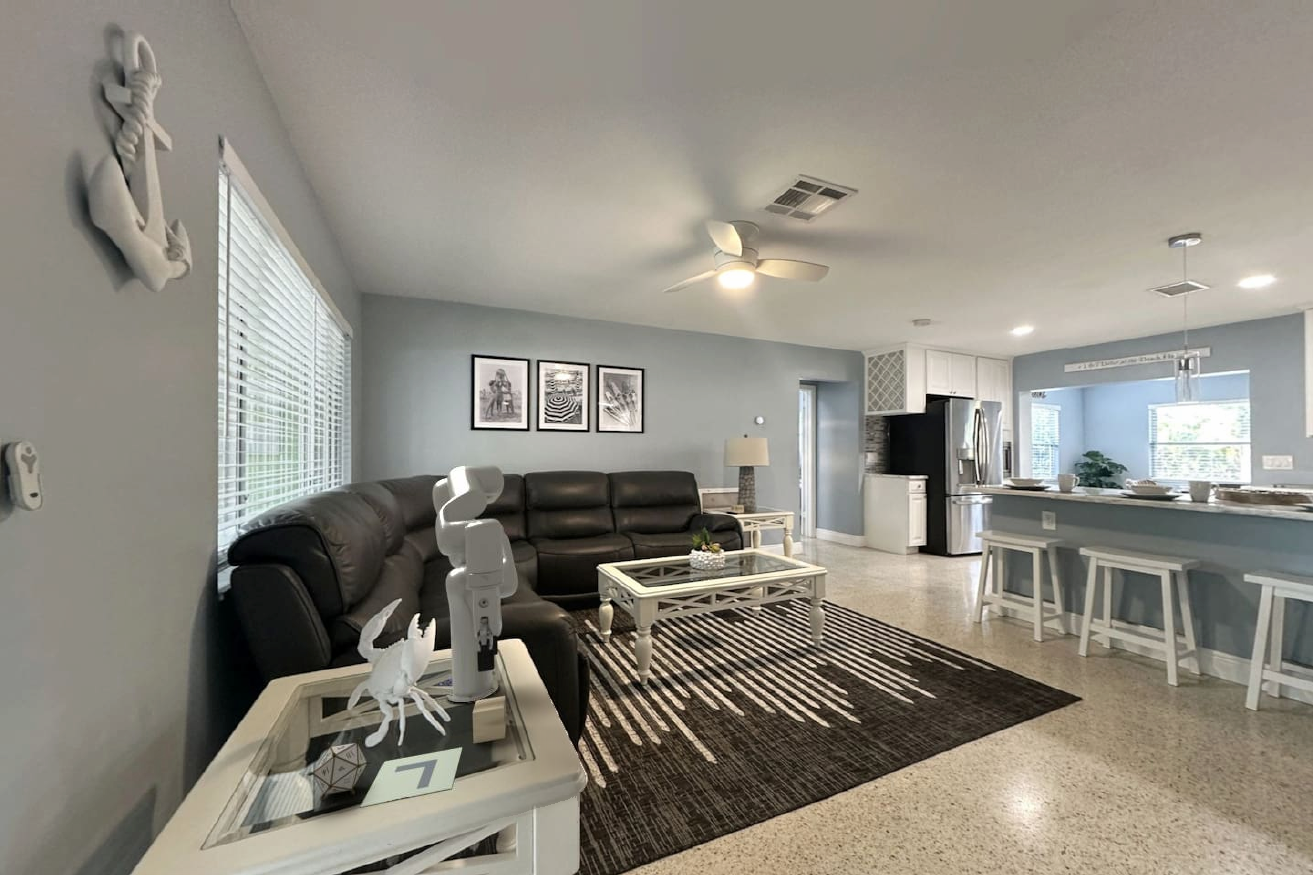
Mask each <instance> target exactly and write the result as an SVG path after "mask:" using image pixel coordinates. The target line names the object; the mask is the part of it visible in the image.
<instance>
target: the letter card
mask: <svg viewBox="0 0 1313 875" xmlns="http://www.w3.org/2000/svg"><path fill="white" fill-rule="evenodd" d="M462 752H463V747H456V748H451V749H445V750H440V751H436V752H435V751H433V752H430V753H423V754H419V755H414V756H413V755H412V756H408V757H403V758H397V759H392V760H386V761H384V762H383V764H382V765H381V767H380V769H379V771H378V772H377V775H376V777H375V779H374V781H373V782H372V784H371V786H370V788H369V790H368V792H367V794H366V795H365V797H364V798H363V800H362V803H361V804H360V806H359V807H360V808H364V807H368V806H374V805H378V804H384V803H388V802H387V801H389V802H393V801H392V800H393V799H399V800H402V799H401V797H405V796H406V797H409V798H414V797H418V796H422V795H423V796H424V795H428V794H432V793H434V794H435V793H438V792H442V791H447V790H452V789H453V785H454V781H455V777H456V773H457V770H458V765H459V762H460V758H461V754H462ZM413 796H414V797H413Z"/></svg>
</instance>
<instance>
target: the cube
mask: <svg viewBox="0 0 1313 875" xmlns="http://www.w3.org/2000/svg"><path fill="white" fill-rule="evenodd" d="M506 708H507V706H506V695H503V696H498V697H497V696H496V697H490V698H489V697H488V698H484V699H481V700H477V701H475V704H474V707H473V710H472V731H473V739H472V740H473V744H478V743H485V742H490V741H495V740H496V741H497V740H500V739H505V738H506V730H507V709H506Z"/></svg>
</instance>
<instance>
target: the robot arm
mask: <svg viewBox="0 0 1313 875" xmlns="http://www.w3.org/2000/svg"><path fill="white" fill-rule="evenodd" d="M504 485H505V478H504V475H503V472H502V471H501V469H500V468H499V467H498V466H497V465H493V464H483V465H464V466H463V465H462V466H458V467H455V468H454V469H452V470H450V472H449V473H448V474H447V477H446V478H443V479H440V480H439V481H437V482H435V484H434V485H433V488H432V501H433V506H434V510H435V513H436V518H435V536H436V544H437V548H438V550H439V552H440V553H441V554H442V555H443V556H447V557H448V560H449V563H450V565H451V566H452V567H453V569H451V571H449V572H448V573H447V576H446V578H445V590H446V595H447V596H446V597H447V603H448V607H449V615H450V616H449V618H450V619H449V620H450V637H451V638H450V641H451V642H450V644H451V646H450V647H451V649H450V650H451V679H452V681H451V682H452V687H453V694H450V695H447V697H448V698H449V699H450V700H452V701H456V702H466V701H468V703H470V702H469V701H474V702H476V701H475V700H479V699H481V698H483V697H485V696H486V695H488V694H489V693H492V692H493V691H494V690H495V688H494V687H492V684H493V679H494V678H493V670H494V669H495V668H496V667H495V666H496V665H495V663H496V662H495V656H496V655H497V656H498V654H499V648H498V647H499V646H498V637H499V636H500V635H501V634H502V633H501V632H502V628H503V622H502V604H501V602H502V601H501V599H505V598H509V597H511V596H513V595H514V594H515V593H516V592H517V589H518V585H519V580H518V572H517V568H516V564H515V560H514V559H515V558H514V555H513V551H512V548H511V547H512V546H511V543H510V540H509V537H508V535H507V534H506V533H505V530H504V526H503V525H502V524H501V522H500V521H499V520H498V519H496V518H482V519H476V518H477V517H479V516H480V515H481V514H483V512H484V511H485V509H486V508H487V506H488V505H490V504H494V503H495V502H496V500H498V498H499V497H500V496H501V494H502V493H503V490H504V487H505V486H504ZM491 689H492V690H491ZM451 695H453V696H451ZM481 700H482V699H481Z"/></svg>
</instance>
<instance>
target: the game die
mask: <svg viewBox="0 0 1313 875" xmlns="http://www.w3.org/2000/svg"><path fill="white" fill-rule="evenodd" d="M360 742H361V737H358V738H357V739H356V741H355V742H351V743H343V744H337V745H332V744H331V742H327V744H326V746H327V747H328V749H327V750H326V752H325V753H324V755H323V757H322V758H321V759H320V761H319V762H318V765H317V766H316V767H315V769H314V771H311V772H310V771H309V772H308V773H307V774H306V776H308V777H312V775H313V777H314V779H315V782H316V783H317V785H318V787H319V789H320V791H321V793H322V794H321V796H320V797H319V798H320V800H319V801H322V800H323V799H324V797H325V796H326V795H331V794H332V795H333V794H337V793H344V792H348V791H350V793H351V794H353V795H355V789H354V788H355V786H356V784H357V782H358V780H359V778H361V775H362V774H363V772H364V769H365V768H366V766H367V765H371V764H372V763H373V761H372V760H368V761H367V759H366V756H365V755H364V753H363V751H362V748H361V747H360V744H359V743H360Z"/></svg>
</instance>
